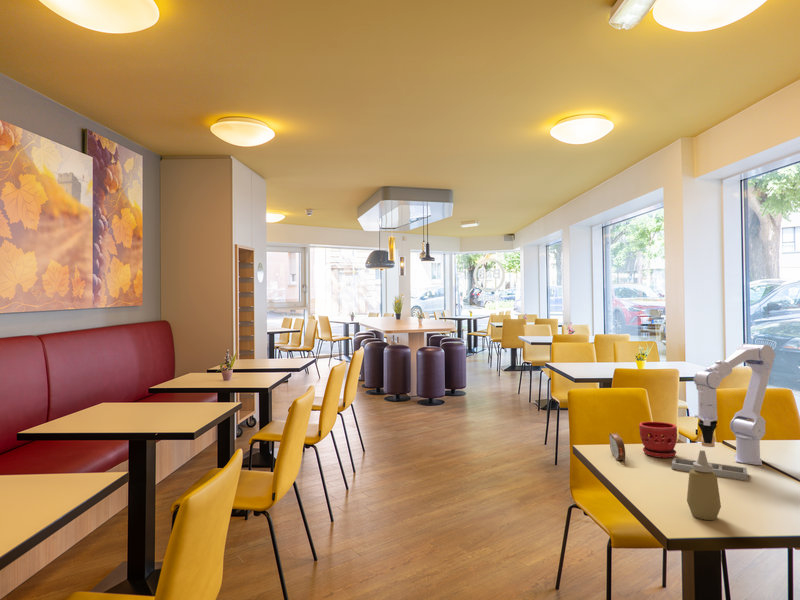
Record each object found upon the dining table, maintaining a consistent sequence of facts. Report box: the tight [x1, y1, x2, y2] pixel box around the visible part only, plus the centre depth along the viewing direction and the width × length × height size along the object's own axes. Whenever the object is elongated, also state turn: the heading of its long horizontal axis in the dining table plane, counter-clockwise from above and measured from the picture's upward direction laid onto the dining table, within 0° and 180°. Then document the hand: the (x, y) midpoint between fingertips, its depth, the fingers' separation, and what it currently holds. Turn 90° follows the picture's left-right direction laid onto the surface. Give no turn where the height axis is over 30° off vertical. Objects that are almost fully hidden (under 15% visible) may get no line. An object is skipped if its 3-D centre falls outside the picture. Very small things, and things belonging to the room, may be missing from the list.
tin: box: [608, 432, 627, 461], centre depth 187 cm, size 15×3×8 cm, turn 168°
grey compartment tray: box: [671, 457, 748, 482], centre depth 170 cm, size 8×22×2 cm, turn 56°
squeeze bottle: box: [686, 450, 722, 521], centre depth 133 cm, size 8×8×18 cm
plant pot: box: [638, 421, 678, 459], centre depth 190 cm, size 13×13×12 cm
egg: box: [701, 434, 716, 448], centre depth 176 cm, size 4×4×4 cm
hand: (708, 441), depth 176 cm, fingers closed on egg, 4 cm apart
